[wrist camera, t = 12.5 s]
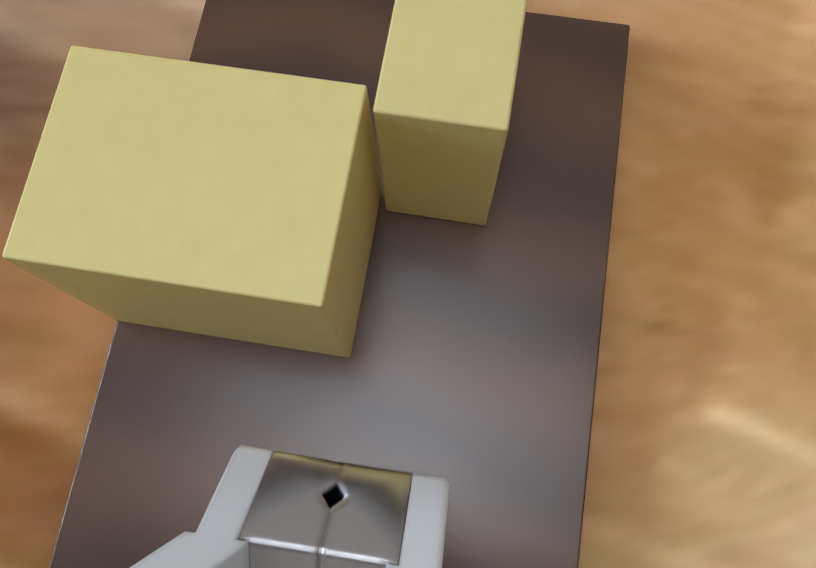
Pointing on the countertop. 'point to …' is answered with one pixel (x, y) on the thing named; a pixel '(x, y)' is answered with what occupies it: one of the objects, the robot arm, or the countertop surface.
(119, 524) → the butter board
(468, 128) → the butter slice
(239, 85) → the butter block
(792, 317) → the countertop surface
